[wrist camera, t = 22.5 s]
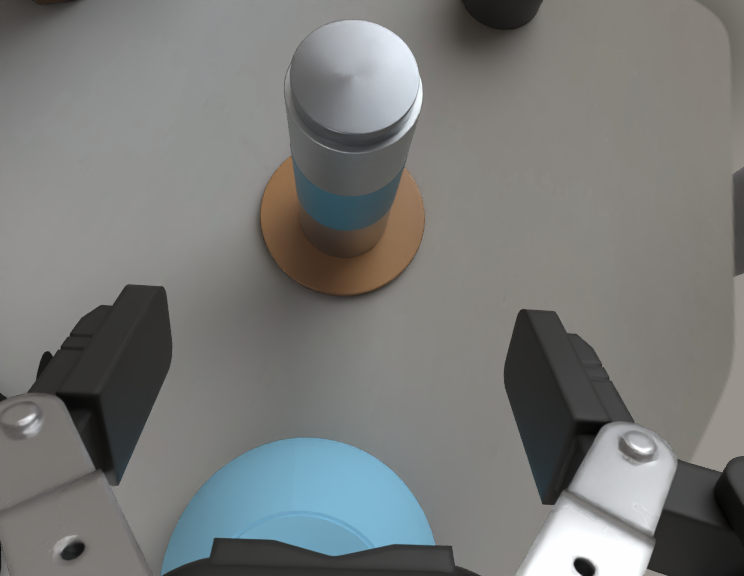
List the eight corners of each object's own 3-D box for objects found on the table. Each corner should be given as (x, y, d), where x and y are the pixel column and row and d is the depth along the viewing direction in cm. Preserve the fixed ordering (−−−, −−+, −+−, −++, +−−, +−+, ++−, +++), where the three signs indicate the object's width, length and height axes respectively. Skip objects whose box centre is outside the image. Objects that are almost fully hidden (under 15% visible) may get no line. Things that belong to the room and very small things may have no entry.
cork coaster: (425, 149, 41) (426, 145, 40) (421, 301, 38) (422, 299, 38) (268, 137, 40) (267, 132, 40) (253, 291, 38) (252, 288, 37)
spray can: (388, 179, 39) (429, 19, 24) (385, 261, 38) (426, 147, 23) (303, 172, 39) (287, 5, 24) (296, 255, 38) (275, 135, 22)
